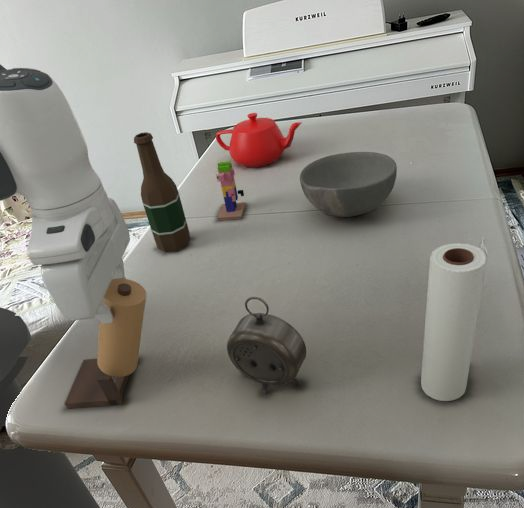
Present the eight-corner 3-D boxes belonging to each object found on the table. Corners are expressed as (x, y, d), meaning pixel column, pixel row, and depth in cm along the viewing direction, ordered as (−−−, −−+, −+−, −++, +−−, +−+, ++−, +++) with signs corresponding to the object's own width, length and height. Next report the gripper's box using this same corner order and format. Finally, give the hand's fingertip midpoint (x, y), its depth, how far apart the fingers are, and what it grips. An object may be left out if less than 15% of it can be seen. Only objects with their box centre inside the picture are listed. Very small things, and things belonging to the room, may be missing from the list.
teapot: (211, 172, 143) (201, 127, 135) (229, 149, 153) (221, 106, 145) (298, 170, 135) (293, 122, 127) (312, 146, 145) (308, 101, 138)
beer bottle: (169, 233, 119) (137, 127, 103) (198, 236, 116) (169, 127, 100) (150, 251, 114) (114, 142, 99) (179, 255, 111) (146, 143, 95)
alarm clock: (311, 378, 77) (300, 290, 67) (298, 404, 74) (284, 315, 63) (246, 365, 82) (226, 280, 71) (231, 389, 78) (208, 303, 68)
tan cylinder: (130, 390, 79) (90, 382, 78) (141, 357, 85) (104, 349, 84) (140, 308, 68) (94, 298, 68) (152, 276, 74) (109, 266, 73)
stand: (67, 408, 81) (52, 383, 77) (86, 364, 88) (73, 339, 84) (122, 404, 79) (109, 379, 76) (136, 360, 87) (126, 335, 83)
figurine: (223, 206, 126) (212, 157, 118) (245, 204, 125) (236, 155, 117) (217, 220, 121) (206, 170, 113) (241, 218, 119) (231, 168, 112)
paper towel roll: (429, 406, 70) (441, 274, 56) (414, 375, 75) (423, 246, 61) (481, 396, 70) (507, 262, 56) (464, 366, 75) (484, 235, 61)
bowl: (414, 200, 114) (416, 155, 107) (361, 243, 104) (360, 196, 97) (339, 183, 125) (336, 142, 119) (285, 221, 115) (279, 178, 109)
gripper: (77, 183, 72) (113, 267, 81) (20, 261, 57) (72, 354, 66) (120, 176, 71) (151, 262, 80) (73, 254, 56) (119, 349, 65)
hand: (115, 304), depth 73 cm, fingers closed on tan cylinder, 6 cm apart
